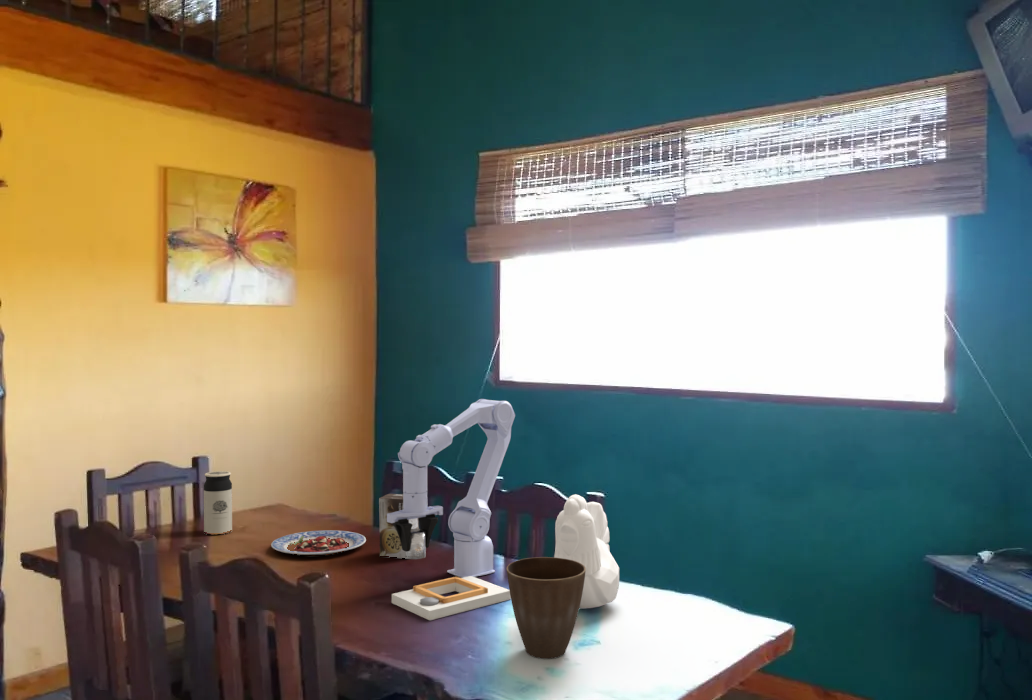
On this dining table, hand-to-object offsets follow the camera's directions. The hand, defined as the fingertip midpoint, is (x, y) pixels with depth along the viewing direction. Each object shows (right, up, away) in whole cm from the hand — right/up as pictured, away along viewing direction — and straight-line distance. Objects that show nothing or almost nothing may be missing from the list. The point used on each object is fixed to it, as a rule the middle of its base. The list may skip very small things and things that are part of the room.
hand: (415, 548), depth 200 cm
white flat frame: (+9, -9, -11) cm, 17 cm away
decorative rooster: (+41, -9, -11) cm, 43 cm away
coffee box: (-8, -9, +28) cm, 30 cm away
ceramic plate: (-31, -9, +36) cm, 48 cm away
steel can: (0, -2, 0) cm, 2 cm away
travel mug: (-66, -8, +54) cm, 85 cm away
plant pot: (+30, -10, -41) cm, 52 cm away
